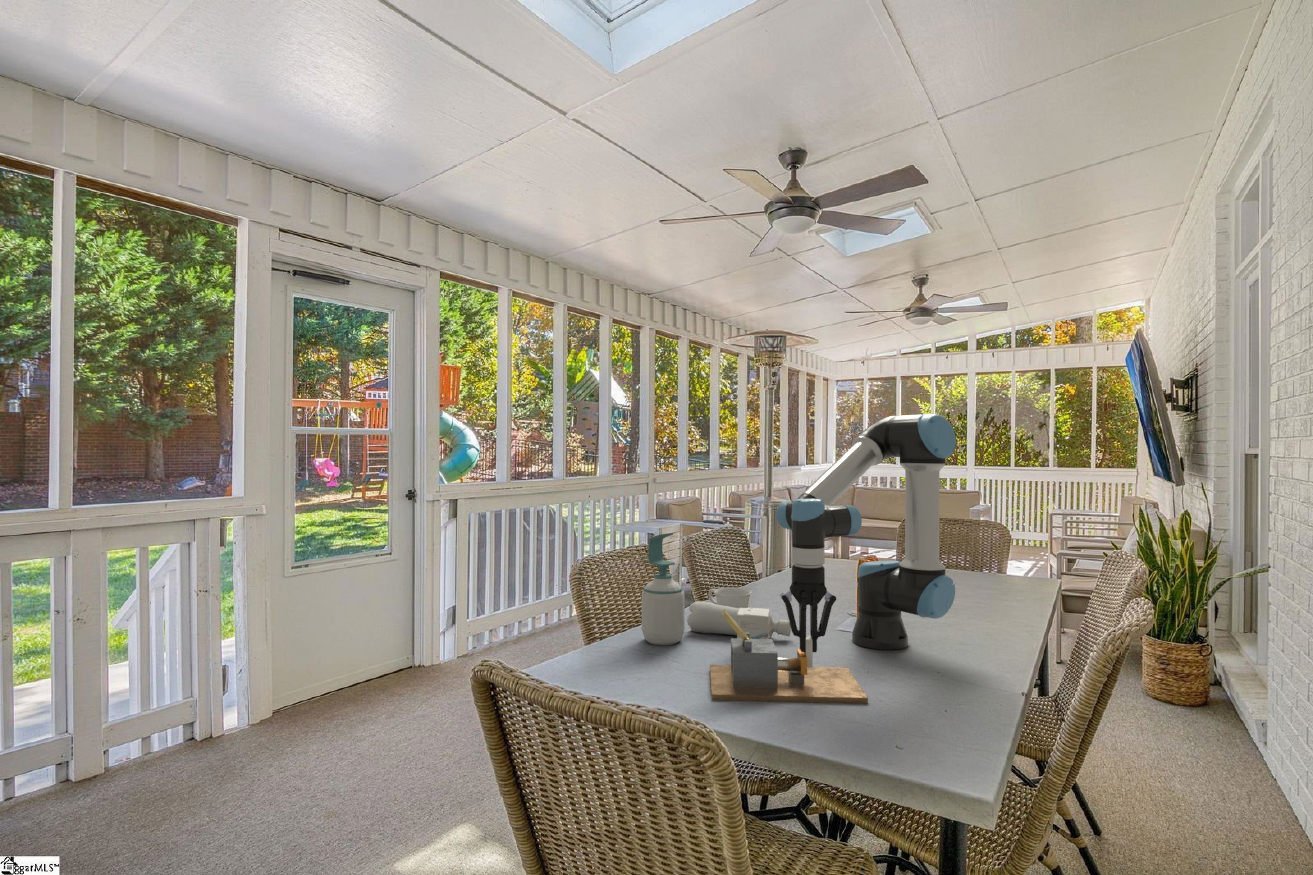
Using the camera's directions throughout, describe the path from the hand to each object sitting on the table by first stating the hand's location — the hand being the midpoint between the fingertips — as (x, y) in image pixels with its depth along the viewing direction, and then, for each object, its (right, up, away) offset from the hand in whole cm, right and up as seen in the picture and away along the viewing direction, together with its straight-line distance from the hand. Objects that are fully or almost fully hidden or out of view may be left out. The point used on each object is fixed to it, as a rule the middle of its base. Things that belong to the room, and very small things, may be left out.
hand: (808, 665), depth 156 cm
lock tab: (-17, +8, +1) cm, 19 cm away
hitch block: (-6, -5, 0) cm, 8 cm away
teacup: (-12, -6, +57) cm, 58 cm away
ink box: (-9, -5, +24) cm, 26 cm away
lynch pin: (-7, -1, +1) cm, 8 cm away
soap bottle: (-34, -5, +36) cm, 50 cm away
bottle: (-11, -6, +41) cm, 43 cm away
